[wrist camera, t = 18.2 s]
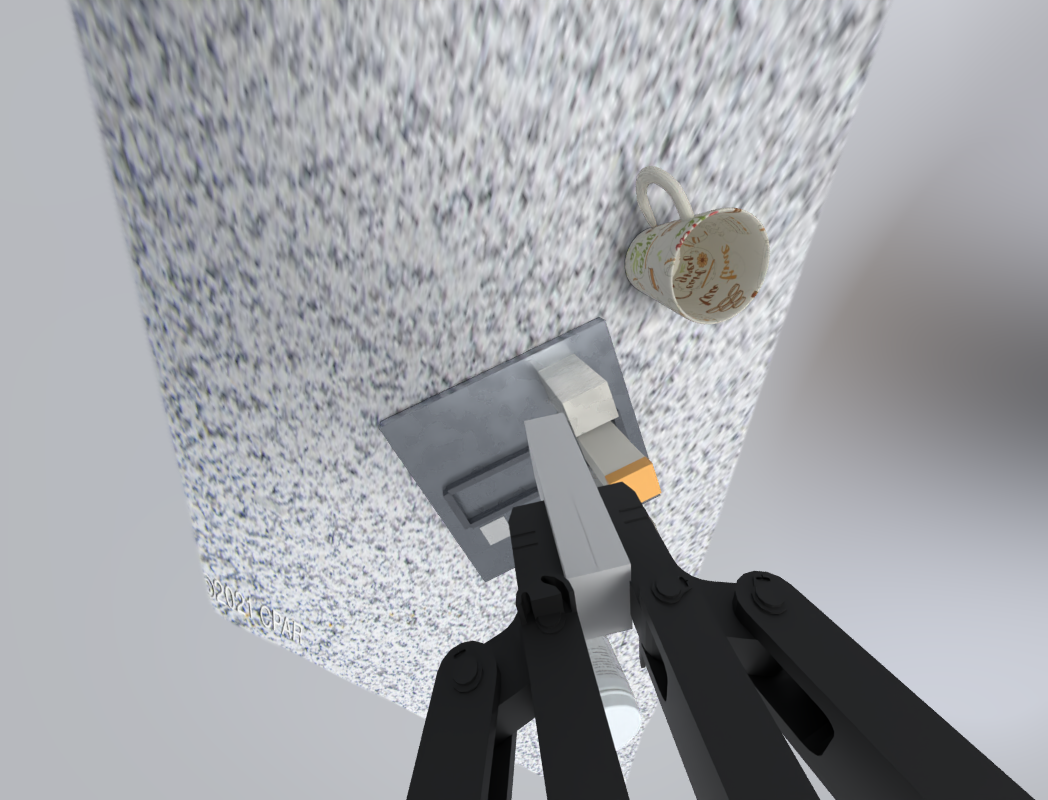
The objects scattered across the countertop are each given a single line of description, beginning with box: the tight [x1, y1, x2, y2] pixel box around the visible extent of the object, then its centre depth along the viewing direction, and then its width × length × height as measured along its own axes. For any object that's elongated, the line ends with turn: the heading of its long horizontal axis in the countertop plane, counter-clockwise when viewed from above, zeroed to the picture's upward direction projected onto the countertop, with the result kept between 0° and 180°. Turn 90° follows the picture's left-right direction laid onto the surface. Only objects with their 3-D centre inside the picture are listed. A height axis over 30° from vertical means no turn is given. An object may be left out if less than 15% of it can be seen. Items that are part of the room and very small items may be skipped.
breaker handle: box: [576, 421, 661, 503], centre depth 39 cm, size 4×4×9 cm
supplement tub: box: [585, 635, 642, 751], centre depth 49 cm, size 10×10×15 cm
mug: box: [625, 166, 770, 324], centre depth 33 cm, size 8×13×10 cm, turn 35°
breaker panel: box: [379, 317, 660, 582], centre depth 40 cm, size 24×24×10 cm
